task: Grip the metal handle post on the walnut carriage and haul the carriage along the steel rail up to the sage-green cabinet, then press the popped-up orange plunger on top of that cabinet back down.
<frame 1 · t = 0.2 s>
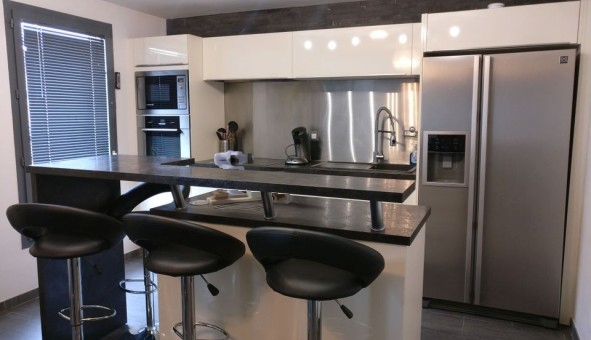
hand: (245, 160, 239), 21 cm above the worktop, tool horizontal, fingers open, 7 cm apart
rail board: (236, 200, 242), on the worktop
plunger: (255, 189, 245), point 5 cm above the worktop, slide at 0.0 cm
coffee box: (281, 202, 238), on the worktop
gauge cabinet: (255, 198, 246), resting on rail board
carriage: (220, 191, 237), point 5 cm above the worktop, slide at 0.0 cm
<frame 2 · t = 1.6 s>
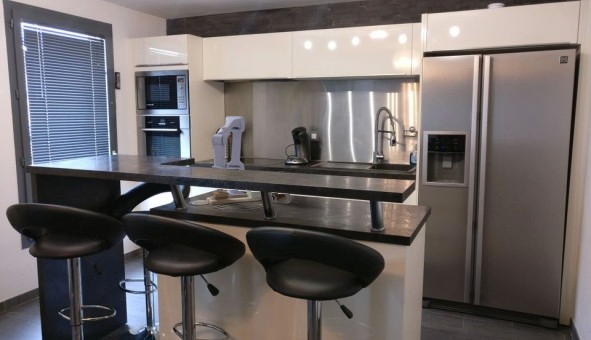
hand: (220, 183, 237), 10 cm above the worktop, tool pointing down, fingers open, 7 cm apart
nothing on the worktop moved.
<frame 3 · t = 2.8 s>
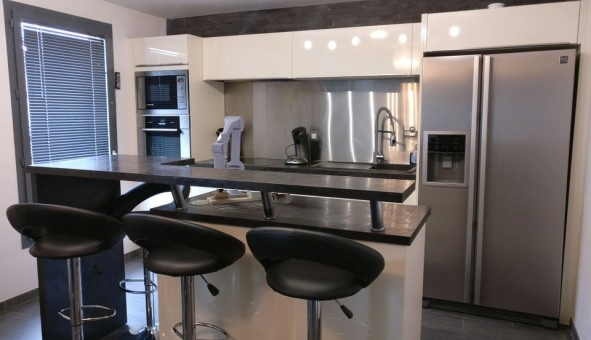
hand: (220, 191, 237), 6 cm above the worktop, tool pointing down, fingers closed on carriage, 3 cm apart
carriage: (220, 191, 237), point 5 cm above the worktop, slide at 0.0 cm, touching gripper
everything else where it was.
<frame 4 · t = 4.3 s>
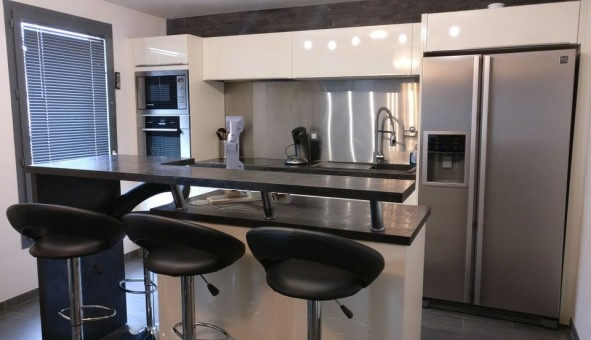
hand: (232, 190, 240), 6 cm above the worktop, tool pointing down, fingers closed on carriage, 3 cm apart
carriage: (232, 190, 240), point 5 cm above the worktop, slide at 6.7 cm, touching gripper
everything else where it was.
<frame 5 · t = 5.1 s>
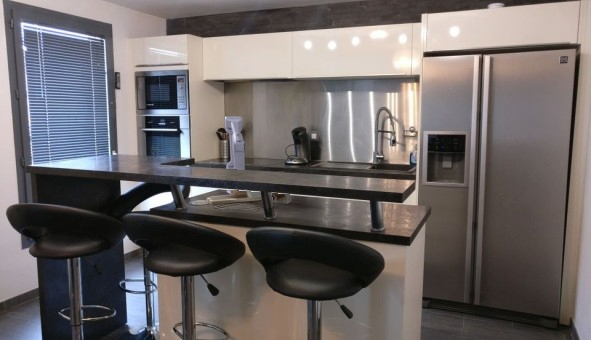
hand: (239, 189, 242), 6 cm above the worktop, tool pointing down, fingers closed on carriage, 3 cm apart
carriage: (238, 189, 242), point 5 cm above the worktop, slide at 10.4 cm, touching gripper
everything else where it was.
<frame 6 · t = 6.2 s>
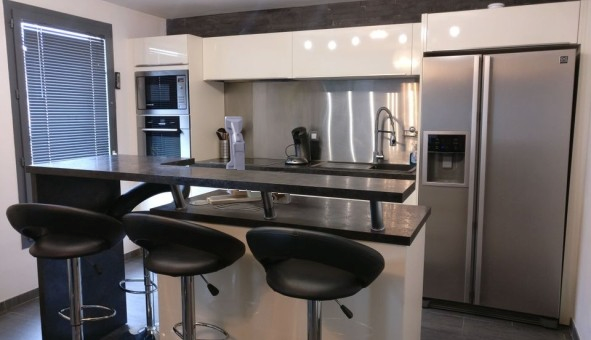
hand: (239, 189, 242), 6 cm above the worktop, tool pointing down, fingers open, 7 cm apart
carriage: (239, 189, 242), point 5 cm above the worktop, slide at 10.4 cm
everything else where it was.
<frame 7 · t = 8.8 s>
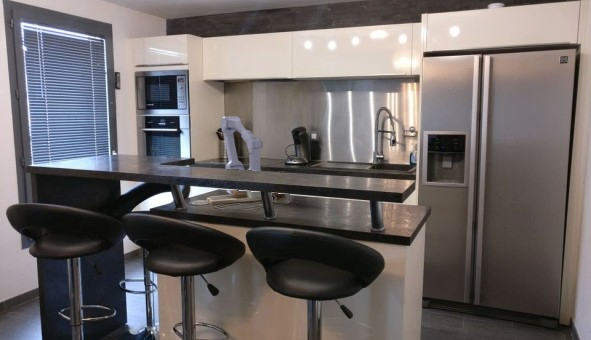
hand: (255, 185, 245), 7 cm above the worktop, tool pointing down, fingers closed, pressing on plunger
plunger: (255, 189, 245), point 5 cm above the worktop, slide at 0.0 cm, touching gripper
everything else where it was.
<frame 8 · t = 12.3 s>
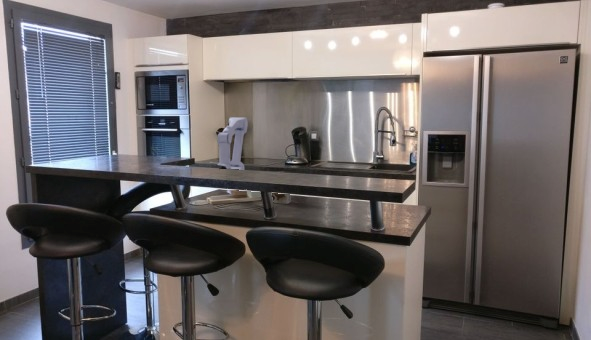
hand: (225, 180, 242), 10 cm above the worktop, tool pointing down, fingers closed
plunger: (255, 191, 246), point 4 cm above the worktop, slide at 1.1 cm
everything else where it was.
at the end: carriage slide at 10.4 cm; plunger slide at 1.1 cm; the gripper is holding nothing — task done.
